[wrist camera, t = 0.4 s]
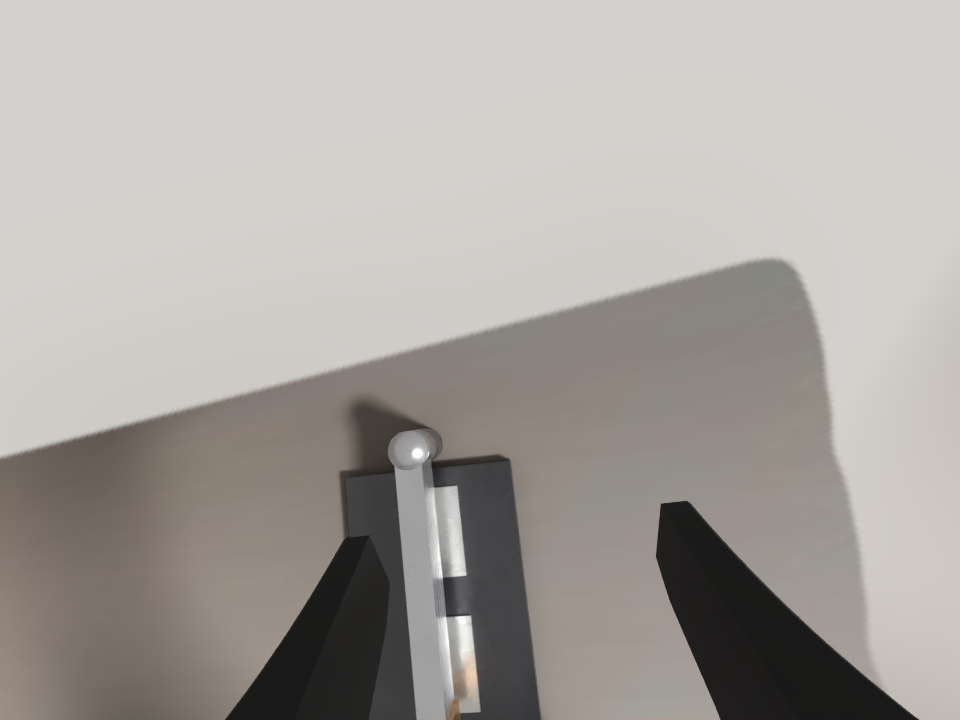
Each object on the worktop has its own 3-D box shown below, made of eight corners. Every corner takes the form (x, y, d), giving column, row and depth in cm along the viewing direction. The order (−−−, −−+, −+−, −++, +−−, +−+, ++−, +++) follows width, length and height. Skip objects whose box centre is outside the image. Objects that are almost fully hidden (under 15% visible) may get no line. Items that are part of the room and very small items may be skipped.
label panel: (541, 720, 35) (542, 746, 32) (368, 727, 36) (355, 752, 33) (505, 418, 37) (503, 419, 35) (346, 436, 39) (333, 438, 36)
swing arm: (463, 728, 32) (455, 762, 29) (425, 729, 33) (414, 763, 30) (433, 427, 35) (423, 429, 32) (398, 431, 35) (385, 433, 32)
